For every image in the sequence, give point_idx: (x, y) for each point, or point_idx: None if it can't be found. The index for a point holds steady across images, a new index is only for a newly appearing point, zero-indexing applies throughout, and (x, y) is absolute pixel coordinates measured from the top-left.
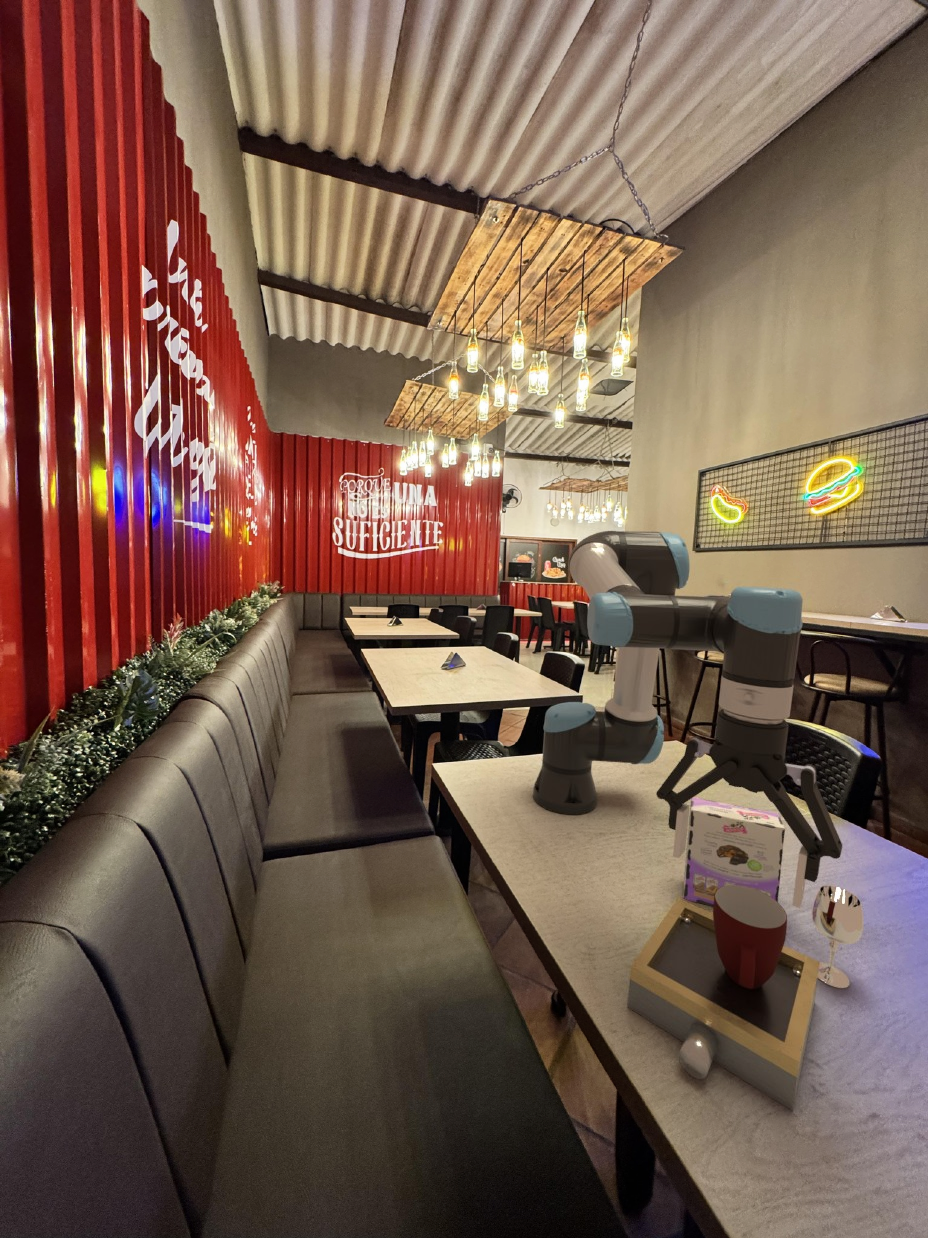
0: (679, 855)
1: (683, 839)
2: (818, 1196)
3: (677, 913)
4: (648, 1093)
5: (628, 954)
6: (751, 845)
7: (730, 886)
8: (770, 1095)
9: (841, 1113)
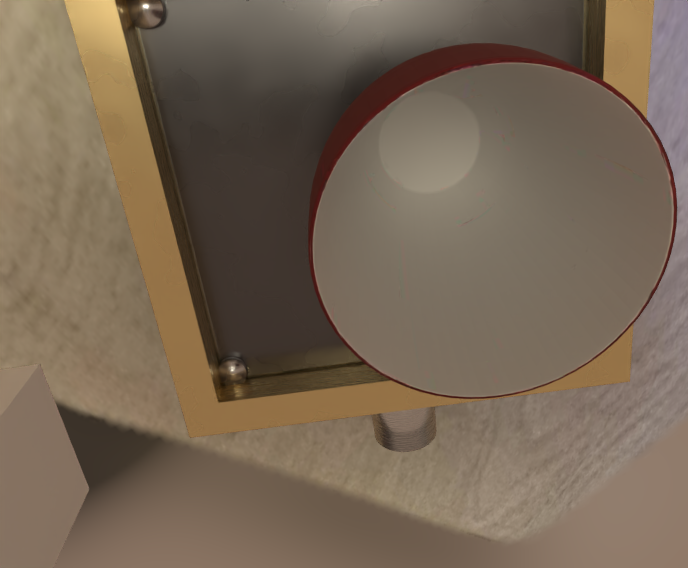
0: (77, 490)
1: (10, 522)
2: (628, 422)
3: (119, 69)
4: (354, 483)
5: (90, 204)
6: None
7: (347, 147)
8: None
9: None
